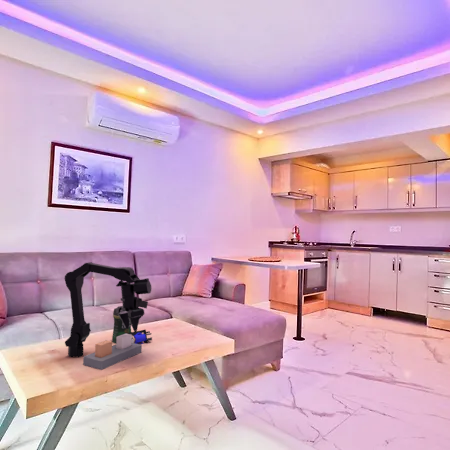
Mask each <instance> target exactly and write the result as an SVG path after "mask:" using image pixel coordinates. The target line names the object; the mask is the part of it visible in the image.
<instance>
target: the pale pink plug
mask: <svg viewBox="0 0 450 450" xmlns="http://www.w3.org/2000/svg"><path fill="white" fill-rule="evenodd" d="M115 345H116V348H117V349H121V350H122V349H125V348H127V347H130V346H131V334H123V335H120V336H117V337H116V344H115Z"/></svg>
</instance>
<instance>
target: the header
mask: <svg viewBox="0 0 450 450" xmlns="http://www.w3.org/2000/svg"><path fill="white" fill-rule="evenodd" d="M142 345H143V344H141V343H137V344H135V343H131V346H130V347H127V348H125V349H122V350H121V349H117V348H116V344H114V345H113V344H112V354H110V355H107V356H105V357H102V358H99V357H95V351H94V352H92V353H89V354H87V355H83V356H82V357H83V358H82V359H83V360H82V365H83V366H86V367H91V368H93V369H97V370H101V371H102V370H105V369H107V368H109V367H111V366H113V365H116V364H118V363H120V362H123V361H124V360H127V359H129V358H132V357H134V356H137V355H138V354H141V353H142V351H143V348H142V347H143V346H142Z"/></svg>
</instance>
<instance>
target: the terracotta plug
mask: <svg viewBox="0 0 450 450" xmlns="http://www.w3.org/2000/svg"><path fill="white" fill-rule="evenodd" d="M112 346H113V342H112V340H106V339H105V340H103V341H101V342H97V343H95V346H94V347H95V351H94V352H95V357H99V358H102V357H105V356H107V355H110V354H112Z"/></svg>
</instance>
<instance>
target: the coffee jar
mask: <svg viewBox="0 0 450 450" xmlns="http://www.w3.org/2000/svg"><path fill="white" fill-rule="evenodd" d="M116 308H117V307H116ZM116 308H114V309H113V312H112V318H113V328H112V329H113V331H112V336H111V337H112V338H111V341H112V344H113V343H114V345H116V337H117V336H120V335H123V334H125V333H130V332H132V325H131V323H130V321H129V328H127V329H126V327H125V325H124V324H123V322H122V320H121V319H120V317H119V315H118V314H119V313H116Z"/></svg>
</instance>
